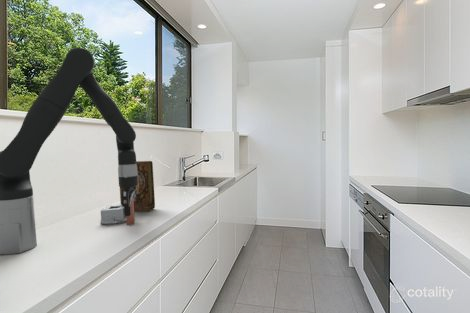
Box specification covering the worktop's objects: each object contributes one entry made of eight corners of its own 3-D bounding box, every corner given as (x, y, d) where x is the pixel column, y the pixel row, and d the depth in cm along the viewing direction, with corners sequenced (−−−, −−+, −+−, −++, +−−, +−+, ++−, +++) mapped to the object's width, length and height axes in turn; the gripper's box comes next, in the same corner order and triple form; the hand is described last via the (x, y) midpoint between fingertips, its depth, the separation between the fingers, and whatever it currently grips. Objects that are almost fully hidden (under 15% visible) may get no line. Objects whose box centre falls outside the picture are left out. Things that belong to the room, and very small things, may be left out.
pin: (134, 224, 108) (133, 192, 107) (124, 225, 107) (122, 193, 106) (137, 221, 112) (135, 190, 111) (126, 222, 111) (125, 191, 111)
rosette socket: (126, 223, 110) (125, 209, 110) (96, 225, 108) (95, 211, 108) (133, 215, 122) (132, 203, 122) (105, 217, 120) (105, 205, 120)
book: (119, 212, 130) (116, 162, 129) (125, 209, 135) (122, 161, 134) (150, 211, 128) (148, 161, 127) (155, 209, 134) (152, 160, 133)
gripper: (123, 173, 115) (125, 209, 116) (113, 177, 101) (115, 218, 102) (140, 172, 116) (142, 208, 117) (133, 176, 102) (135, 217, 103)
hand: (130, 213), depth 109 cm, fingers open, 8 cm apart
